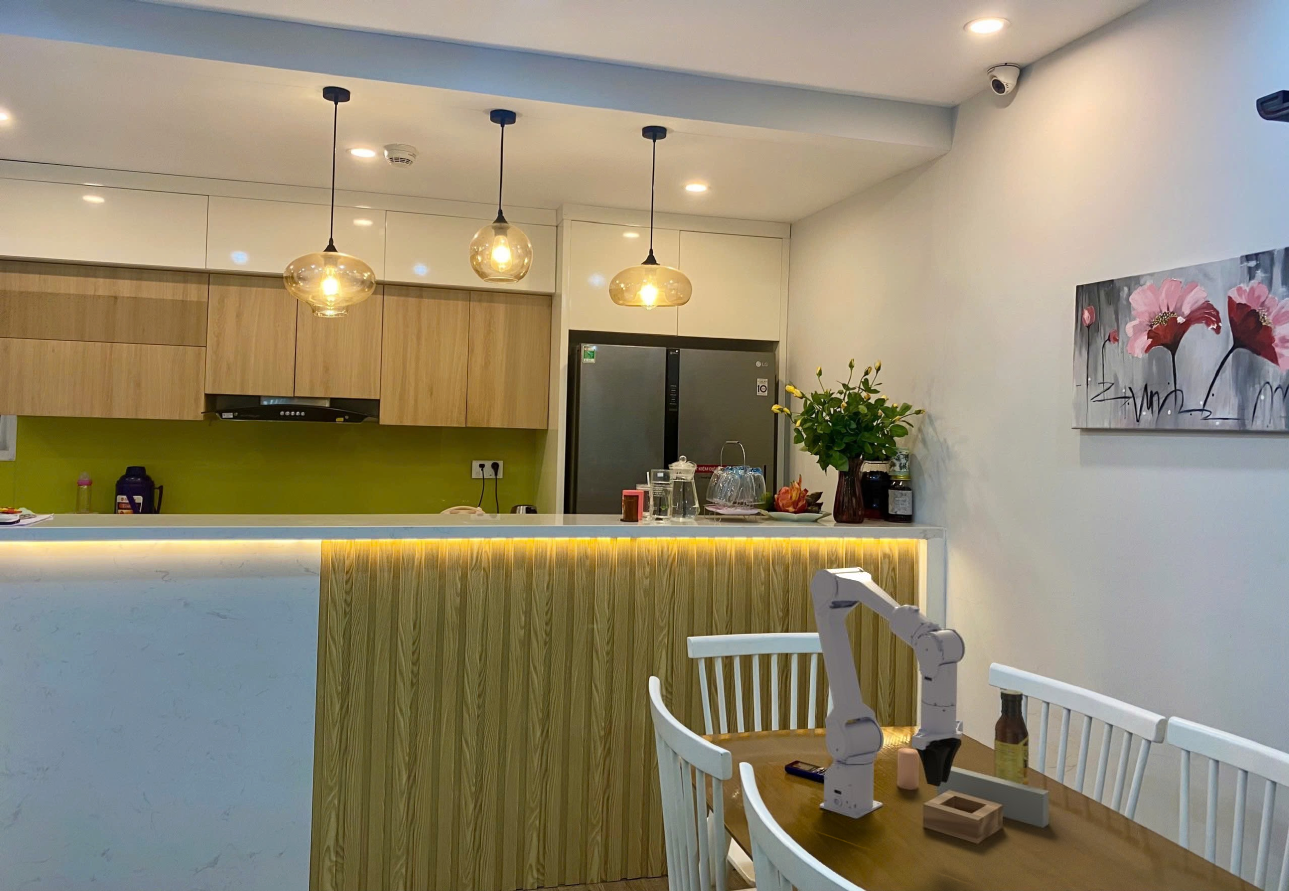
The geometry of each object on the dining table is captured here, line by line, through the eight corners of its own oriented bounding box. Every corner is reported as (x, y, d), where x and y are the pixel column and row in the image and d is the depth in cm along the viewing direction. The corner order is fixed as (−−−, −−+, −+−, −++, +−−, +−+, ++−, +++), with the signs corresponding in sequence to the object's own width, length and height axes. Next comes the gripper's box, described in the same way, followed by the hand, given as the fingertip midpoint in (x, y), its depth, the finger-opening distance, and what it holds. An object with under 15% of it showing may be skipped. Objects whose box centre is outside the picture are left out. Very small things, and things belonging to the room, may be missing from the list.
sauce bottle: (1031, 801, 180) (1032, 697, 180) (996, 798, 182) (998, 695, 182) (1024, 789, 187) (1026, 689, 187) (991, 787, 188) (992, 686, 188)
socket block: (977, 843, 160) (978, 819, 160) (922, 826, 167) (923, 803, 167) (1002, 827, 167) (1002, 804, 167) (948, 811, 174) (949, 789, 174)
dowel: (912, 791, 184) (912, 755, 185) (893, 786, 187) (894, 751, 187) (921, 786, 187) (922, 751, 187) (903, 781, 190) (904, 746, 190)
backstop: (1042, 828, 167) (1043, 794, 168) (936, 798, 181) (937, 766, 181) (1048, 824, 169) (1048, 790, 169) (943, 794, 183) (943, 763, 183)
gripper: (941, 714, 152) (939, 799, 152) (980, 699, 162) (978, 778, 162) (900, 706, 157) (899, 788, 157) (941, 691, 167) (940, 768, 167)
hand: (937, 782), depth 160 cm, fingers closed
